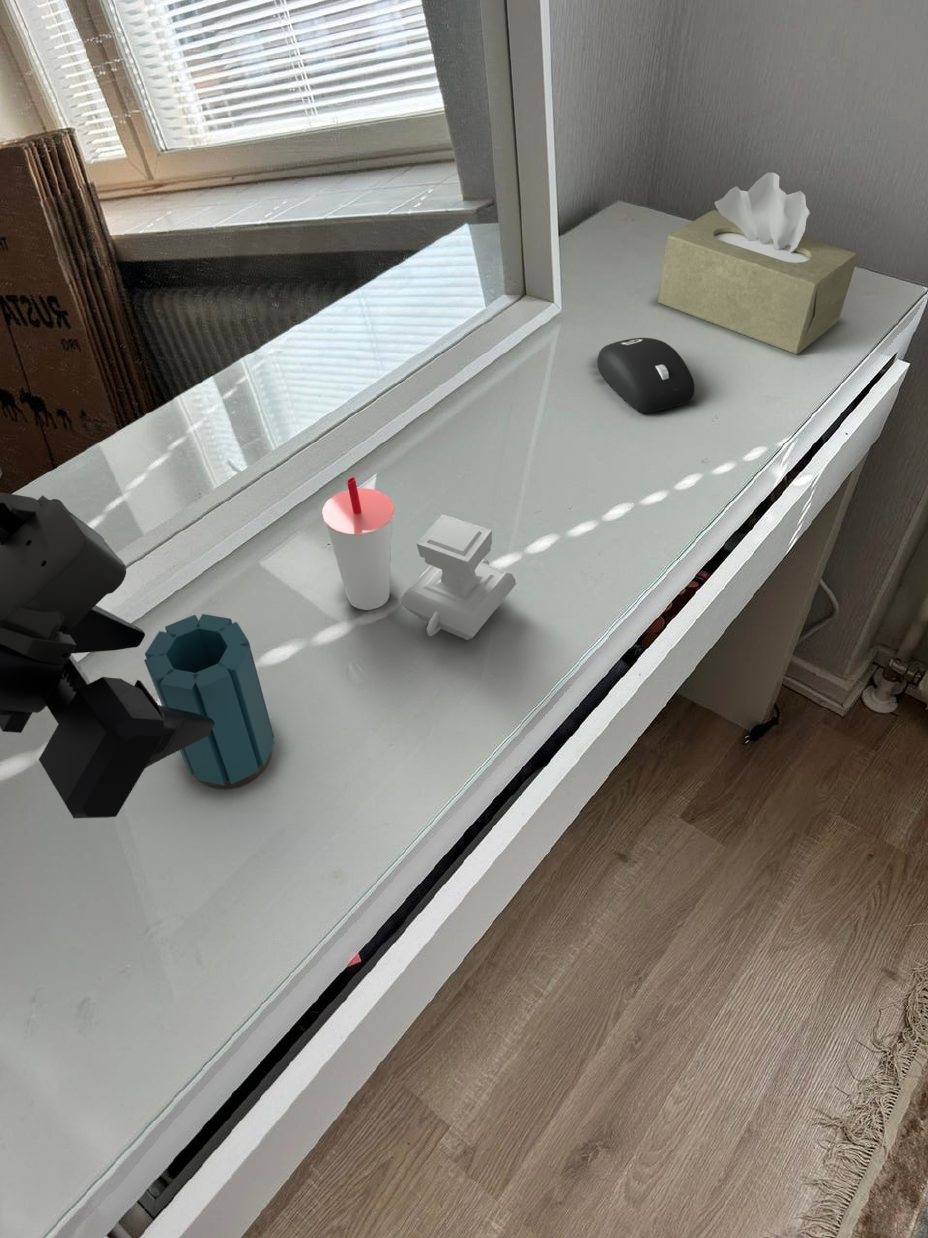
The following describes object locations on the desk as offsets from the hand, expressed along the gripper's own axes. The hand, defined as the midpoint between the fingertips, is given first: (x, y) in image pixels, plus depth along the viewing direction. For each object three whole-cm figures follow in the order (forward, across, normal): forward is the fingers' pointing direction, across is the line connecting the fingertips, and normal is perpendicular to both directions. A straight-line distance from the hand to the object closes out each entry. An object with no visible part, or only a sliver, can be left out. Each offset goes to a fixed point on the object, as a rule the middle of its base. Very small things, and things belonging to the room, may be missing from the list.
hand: (174, 681), depth 56 cm
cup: (+20, +7, -6) cm, 22 cm away
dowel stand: (+8, 0, +5) cm, 10 cm away
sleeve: (+7, 0, +5) cm, 9 cm away
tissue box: (+63, +17, -49) cm, 82 cm away
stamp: (+23, 0, -9) cm, 25 cm away
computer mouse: (+48, +15, -34) cm, 61 cm away
